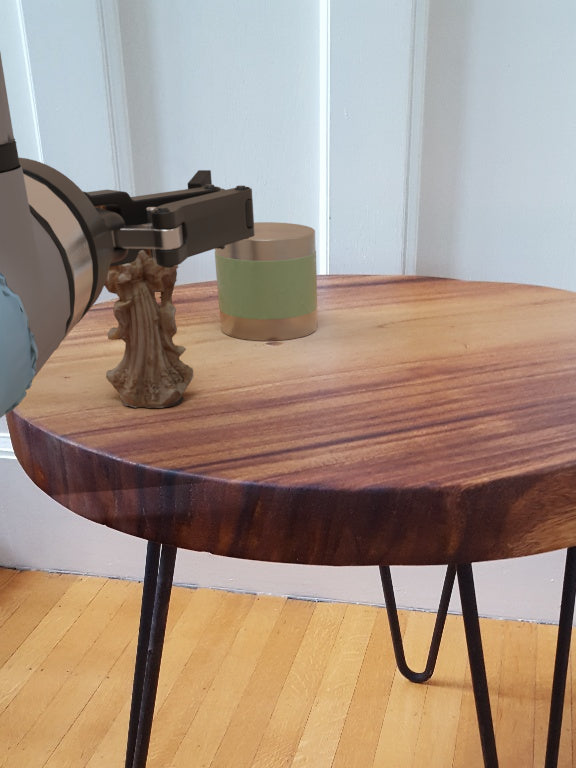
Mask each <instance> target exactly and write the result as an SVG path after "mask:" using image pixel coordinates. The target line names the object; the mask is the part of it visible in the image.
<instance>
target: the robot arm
mask: <svg viewBox="0 0 576 768" xmlns="http://www.w3.org/2000/svg"><path fill="white" fill-rule="evenodd" d="M10 111H11V110H10V105H9V98H8V91H7V86H6V79H5V73H4V67H3V59H2V54H1V52H0V419H1V418H2V417H4V416H5V415H7V414H8V413H10V412H12V411H13V410H14V409H15V408H16V407H17V406H19V405H20V404H21V403H22V401H23V400H24V399H25V397H26V396H27V390H29V389H31V387H32V384H33V381H34V378H35V377H36V376H37V375H38V374H39V372H40V371H41V369H42V368H43V367H44V366H45V364H46V363H47V362H48V360H50V358H51V356H52V355H53V354H54V353H55V351H57V349H58V348H59V347H60V345H61V344H62V342H63V341H64V340H65V339H66V337H67V336H68V335H69V334H70V333H71V331H72V330H73V329H74V328H75V326H77V324H79V323H80V322H81V320H83V318H84V317H85V315H86V314H87V313H88V312H89V311H90V309H91V308H92V307H93V306H94V305H95V303H96V302H97V300H98V299H99V297H100V295H101V294H102V291H103V289H104V287H105V286H104V285H105V282H106V279H107V275H108V272H109V268H110V267H112V266H117V265H122V264H127V263H132V262H134V261H135V260H136V259H137V256H138V253H139V251H141V250H146V249H151V257H152V259H153V260H156V263H157V265H160V266H162V267H166V268H171V267H174V265H178V266H179V265H181V264H182V263H183V262H184V261H186V260H187V259H188V258H190V257H194V256H196V255H199V254H203V253H205V252H209V251H212V250H215V248H218V249H219V248H221V249H224V248H225V245H228V244H231V243H234V242H237V241H240V240H243V239H249V238H250V237H253V236H255V234H254V223H255V218H254V217H255V216H254V202H253V201H254V200H253V189H252V188H251V187H250V186H246V185H236V186H235V187H232V188H229V189H225V188H221V187H220V186H215V184H213V181H212V170H211V169H208V170H207V169H203V170H202V169H199V170H197V172H196V173H194V175H193V176H192V177H191V178H190V179H189V181H188V182H187V188H186V189H185V188H184V189H177V190H170V191H164V192H158V193H157V192H156V193H151V194H143V195H136V196H135V195H134V196H131V195H130V194H129V193H128V192H127V191H122V190H114V189H101V190H93V191H92V190H91V191H83V190H82V189H81V188H80V187H79V186H78V185H77V184H76V183H75V182H74V181H73V180H72V179H70V178H69V176H67V175H66V174H64V173H62V172H61V171H59V170H58V169H56V168H54V167H52V166H50V165H48V164H47V163H43V162H41V161H37V160H34V159H30V158H26V157H19V153H18V147H17V141H16V138H15V137H14V136H15V135H14V129H13V123H12V117H11V112H10ZM101 205H105V207H106V210H104V209H100V208H96V207H94V206H101Z"/></svg>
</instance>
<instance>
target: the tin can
mask: <svg viewBox="0 0 576 768" xmlns="http://www.w3.org/2000/svg"><path fill="white" fill-rule="evenodd" d="M254 234H255V236H253V237H250V238H249V239H243V240H240V241H237V242H234V243H231V244H228V245H225V248H224V249H221V248H219V249H218V248H215V249H214V261H215V262H214V263H215V275H216V287H217V298H218V299H217V301H218V310H219V318H220V330H221V332H222V333H223V334H225V335H227V336H229V337H232V338H235V339H240V340H247V341H259V342H260V341H261V342H269V341H270V342H271V341H273V342H274V341H287V340H295V339H299V338H304V337H306V336H309V335H311V334H313V333H315V332H316V331H317V330H318V282H317V281H318V276H317V275H318V273H317V271H318V270H317V250H316V230H315V229H314V228H313V227H311V226H307V225H304V224H299V223H292V222H291V223H289V222H273V221H272V222H271V221H270V222H268V221H266V222H262V221H261V222H260V221H259V222H254Z"/></svg>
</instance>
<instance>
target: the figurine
mask: <svg viewBox="0 0 576 768" xmlns="http://www.w3.org/2000/svg"><path fill="white" fill-rule="evenodd" d="M94 207H96V208H100V209H104V210H106V207H105V205H101V206H94ZM178 269H179V265H174V267H171V268H166V267H162V266H160V265H157V263H156V260H153V259H152V257H151V249H146V250H141V251H139V253H138V256H137V259H136V260H135V261H134V262H132V263H127V264H122V265H117V266H112V267H110V268H109V272H108V275H107V279H106V282H105V285H104V287H105V289H106V290H107V292H108V293H111V294H114V295H116V296H117V297H118V299H117V300H116V301H114V304H113V307H112V311H113V315H114V318H115V319H116V321H117V323H118V324H117V327H112V328H110V329H109V330H108V332H107V340H109V341H110V340H112V341H113V340H114V341H118V340H119V341H120V340H122V341H123V342H124V343H125V345H124V347H125V348H124V353H123V357H122V359H121V361H120V362H119V363H118V365H117V366H116V367H114V368H112V369H108V370H106V372H105V378H106V379H107V381H108V382H109V383H110V384H111V385H112V387H113V388H114V390H115V391H116V392H117V393H118V395H119V399H121V402H122V404H123V405H124V406H127V407H132V408H136V409H137V408H139V407H141V408H142V407H143V408H146V409H147V408H149V409H150V408H151V409H152V408H155V409H157V408H158V409H162V408H168V407H174V406H177V405H179V404H181V403H182V402H183V400H185V398H184V396H183V395H184V393H185V391H186V389H187V388H188V387H189V385H190V383H191V382H192V381H193V378H194V369H193V367H191V366H190V365H188V364H185V363H184V361H182V360H181V359H180V357H181V356H182V355H183V354H184V352H185V351H186V350H187V348H186V347H185V346H183V345H178V344H177V345H176V344H175V343H174V341H173V338H174V337H175V336H176V334H177V331H178V327H177V323H176V311H177V308H176V306H175V305H174V303H173V298H172V297H173V294H174V293H173V292H174V289H175V284H176V282H177V276H178ZM156 293H160V296H159V297H158V299H160V302H161V303H160V304H159V303H158V301H157V299H156Z"/></svg>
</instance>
